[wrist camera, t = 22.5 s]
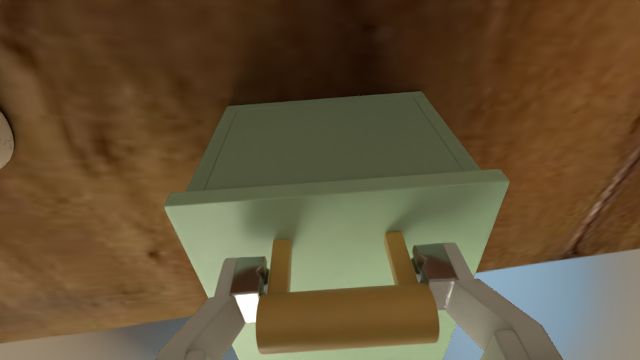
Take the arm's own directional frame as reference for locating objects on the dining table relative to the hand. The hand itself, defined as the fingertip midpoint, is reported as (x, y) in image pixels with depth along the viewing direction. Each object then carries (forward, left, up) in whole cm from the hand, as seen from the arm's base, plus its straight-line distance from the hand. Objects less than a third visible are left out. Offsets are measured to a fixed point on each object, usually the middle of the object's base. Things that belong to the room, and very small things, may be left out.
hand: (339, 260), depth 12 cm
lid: (+4, +3, -2) cm, 5 cm away
